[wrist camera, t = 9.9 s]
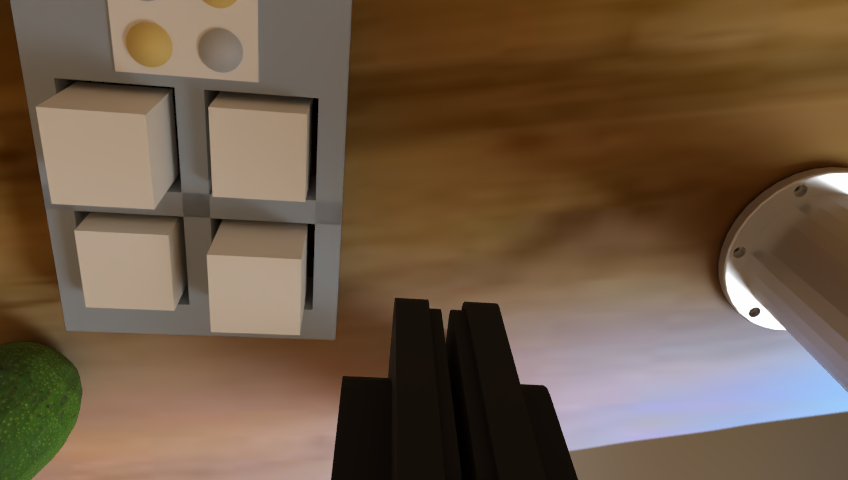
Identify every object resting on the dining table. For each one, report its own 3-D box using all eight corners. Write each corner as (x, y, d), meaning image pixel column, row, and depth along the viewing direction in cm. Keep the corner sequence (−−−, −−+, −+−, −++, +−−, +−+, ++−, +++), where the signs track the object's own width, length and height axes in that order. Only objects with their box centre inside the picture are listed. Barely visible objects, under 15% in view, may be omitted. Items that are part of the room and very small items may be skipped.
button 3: (313, 90, 39) (307, 114, 34) (311, 169, 41) (305, 202, 37) (226, 83, 38) (208, 107, 34) (229, 164, 41) (212, 196, 36)
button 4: (308, 220, 40) (301, 259, 36) (306, 290, 43) (299, 335, 38) (224, 215, 40) (206, 254, 35) (227, 286, 42) (210, 332, 38)
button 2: (189, 199, 41) (168, 235, 37) (193, 269, 44) (174, 310, 39) (105, 194, 41) (74, 230, 36) (114, 265, 43) (85, 307, 39)
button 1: (172, 88, 36) (146, 114, 32) (178, 174, 38) (154, 209, 34) (76, 81, 36) (35, 106, 31) (88, 168, 38) (51, 203, 33)
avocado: (102, 411, 49) (28, 553, 38) (-14, 398, 47) (-123, 541, 37) (104, 322, 45) (24, 450, 35) (-21, 305, 44) (-143, 433, 33)
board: (354, -50, 36) (353, -44, 32) (337, 306, 46) (334, 344, 42) (34, -83, 34) (-9, -81, 30) (90, 296, 44) (63, 334, 40)
